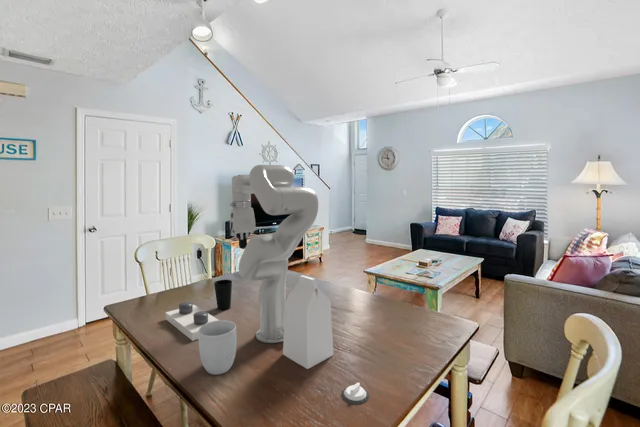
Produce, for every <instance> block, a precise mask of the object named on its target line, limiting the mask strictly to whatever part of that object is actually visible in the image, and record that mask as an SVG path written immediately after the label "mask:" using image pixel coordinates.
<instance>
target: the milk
mask: <svg viewBox="0 0 640 427" xmlns="http://www.w3.org/2000/svg"><path fill="white" fill-rule="evenodd" d="M331 303H332V302H331V299H330V298H329V296H327V295H326V294H325V293H324V292H323V291H322V290H321V289H320V288H319V287H318V284H317V280H316V278H314V277H310V276H307V275H300V276H299V278H298V280H297V284H296V285H295V286H294V288H292V289H291V291H290V293H288V295H287V296H286V300H285V315H284V341H282V342H283V345H282V347H283V348H282V355H283V356H284V357H287V358H288V359H289V360H291V361H294V362H295V363H297V364H298V365H300V366H302V367H303V368H305V369H307V370H309V369H310V368H312V367H314V366H315V365H316V366H317V365H318V364H320V363H321V362H323V361H325V360H327V359H328V358H331V357H332V356H334V341H333V340H334V338H333V323H332V322H333V320H332V307H331V306H332V304H331Z"/></svg>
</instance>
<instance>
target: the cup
mask: <svg viewBox="0 0 640 427" xmlns="http://www.w3.org/2000/svg"><path fill="white" fill-rule="evenodd" d="M232 290H233V281H232V280H230V279H219V280H216V281H214V293H215V299H216V306H217V307H216V308H217V311H222V312H223V311H228V310H230V309H231V304H232Z"/></svg>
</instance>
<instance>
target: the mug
mask: <svg viewBox="0 0 640 427" xmlns="http://www.w3.org/2000/svg"><path fill="white" fill-rule="evenodd" d="M237 332H238V331H237V324H236V323H235V322H234V321H231V320H226V319H221V320H220V319H218V321H212V322H209V323H206V324H204V325H203V326H201V327H200V328H199V331H198V335H199V338H198V339H197V340H198V350H199V352H198V353H199V358H200V360H201V363H202V366H203V368H204V369H205V371H206V372H207V373H208V374H210V375H214V376H215V375H216V376H218V375H223V374H225V373H227V372H228V371H229V370H230V369H231V368H232V366H233V364H234V363H235V362H234V361H235V358H236V354H237V345H238V344H237V343H238V342H237V341H238V338H237V335H238V334H237Z"/></svg>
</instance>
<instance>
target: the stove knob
mask: <svg viewBox="0 0 640 427" xmlns="http://www.w3.org/2000/svg"><path fill="white" fill-rule="evenodd" d="M341 398H342V399H343V400H344V401H345V403H348V404H351V405H354V406H355V405H362V404H365V403H366V402H367V401H368V400H369V398H370V395H369V393H368V391H367V390H366V389H364V387H362V386H361V383H360V382H359V381H358V382H356V383H355V384H353V385H349V386H347V387H346V388H344V389H343V390H342V391H341Z"/></svg>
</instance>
